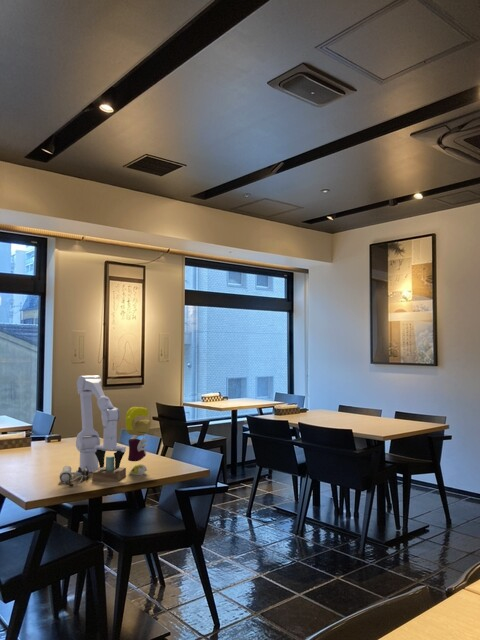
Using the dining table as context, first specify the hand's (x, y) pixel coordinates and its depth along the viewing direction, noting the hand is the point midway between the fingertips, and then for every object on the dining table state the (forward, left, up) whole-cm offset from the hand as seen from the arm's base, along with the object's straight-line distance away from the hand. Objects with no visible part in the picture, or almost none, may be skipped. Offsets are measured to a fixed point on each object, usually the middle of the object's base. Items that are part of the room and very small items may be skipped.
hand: (109, 467), depth 220 cm
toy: (-14, +8, -5) cm, 16 cm away
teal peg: (0, 0, -4) cm, 4 cm away
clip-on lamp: (+8, -12, -5) cm, 16 cm away
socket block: (0, 0, -4) cm, 4 cm away
